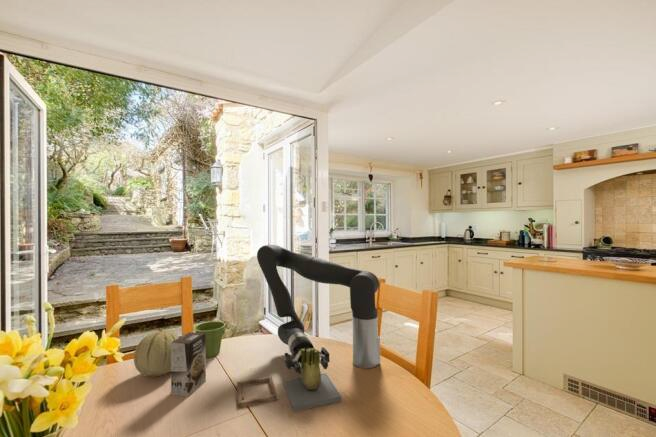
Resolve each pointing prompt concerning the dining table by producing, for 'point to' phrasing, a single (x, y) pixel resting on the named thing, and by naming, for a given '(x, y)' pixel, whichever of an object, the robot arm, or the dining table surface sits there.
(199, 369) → the coffee box
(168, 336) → the cantaloupe
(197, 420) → the dining table surface
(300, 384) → the slate board
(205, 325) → the plant pot
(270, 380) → the walnut collar
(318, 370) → the fennel bulb
